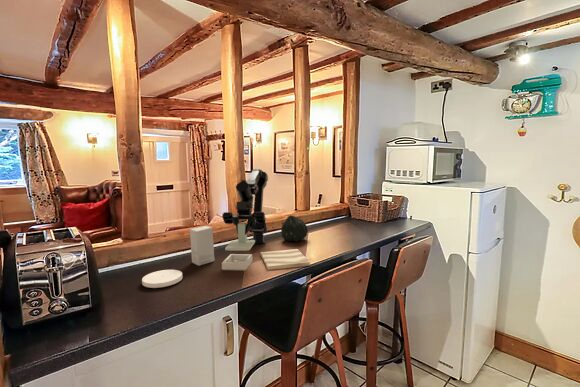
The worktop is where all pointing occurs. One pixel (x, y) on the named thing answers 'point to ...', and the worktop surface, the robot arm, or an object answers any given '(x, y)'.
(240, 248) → the sage lid
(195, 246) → the skincare box
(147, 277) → the plastic lid
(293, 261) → the birch board
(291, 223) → the squash
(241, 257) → the tray
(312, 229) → the worktop surface
